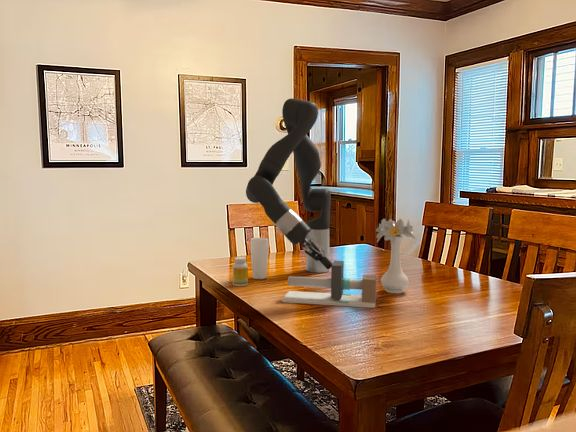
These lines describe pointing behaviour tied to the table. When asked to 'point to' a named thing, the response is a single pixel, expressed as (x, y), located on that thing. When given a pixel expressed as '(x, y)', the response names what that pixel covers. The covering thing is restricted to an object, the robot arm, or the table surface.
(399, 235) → the flower vase
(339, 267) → the collar
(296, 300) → the pipe stand
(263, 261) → the drinking glass
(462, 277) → the table surface
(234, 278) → the supplement bottle
